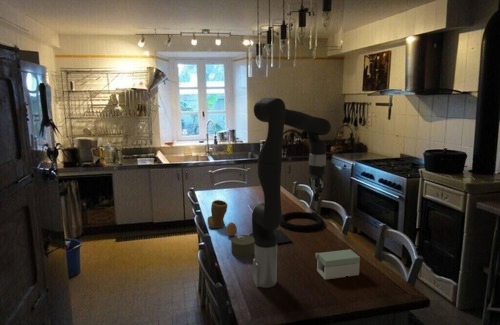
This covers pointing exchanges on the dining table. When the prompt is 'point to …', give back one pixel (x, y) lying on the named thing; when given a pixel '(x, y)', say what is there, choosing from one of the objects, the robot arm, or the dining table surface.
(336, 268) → the curved white channel
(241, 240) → the can
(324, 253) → the cover
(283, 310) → the dining table surface
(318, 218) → the cable lock
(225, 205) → the brown boot
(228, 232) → the egg
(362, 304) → the dining table surface
